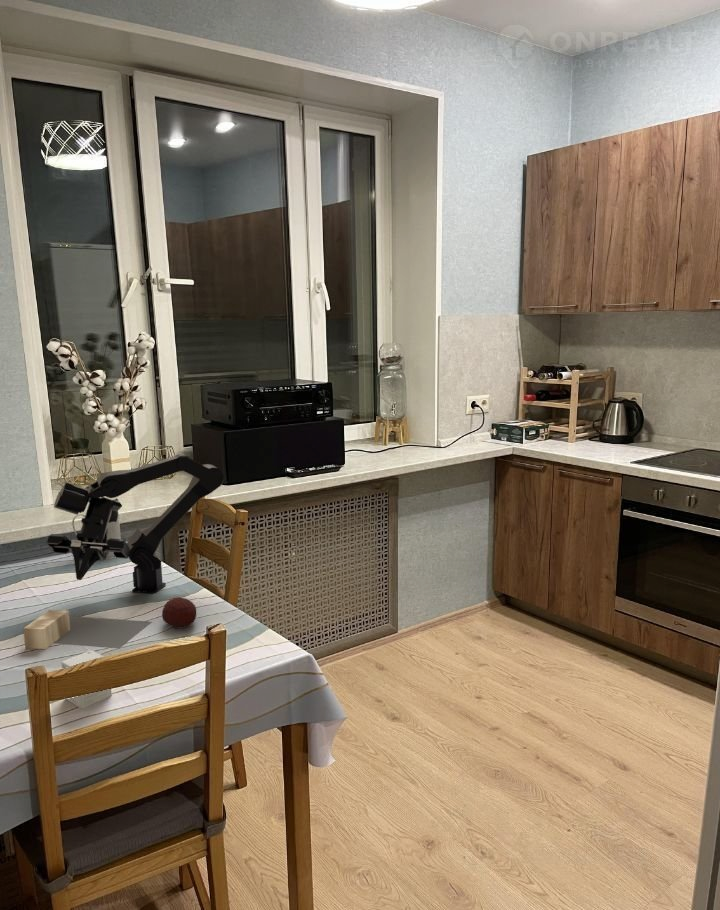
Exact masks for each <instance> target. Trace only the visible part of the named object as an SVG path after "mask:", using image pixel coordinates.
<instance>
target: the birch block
mask: <svg viewBox="0 0 720 910" xmlns="http://www.w3.org/2000/svg"><path fill="white" fill-rule="evenodd" d="M69 616H70V610H66V609H65V610H64V609H63V610H62V609H61V610H60V609H59V610H57V609H56V610H55V609H49V610H47V611H46V612H45V613H44V614H42V615H41V616H39V617H37V618H36V619H35V620H33V621H32V622H30V623H29V624H28V625H26V626H25V627H23V628H22V629H23V637H24V638H23V639H24V648H25V649H26V650H31V649H32V650H46V649H48V648H49V647H51V646H52V645H53V644H55V643H54V642H55V641H57V640H58V639H59V638H61V637H62V636H63V635H64V634H66V633H67V632H68V631H70V630H71V629H70V619H69Z"/></svg>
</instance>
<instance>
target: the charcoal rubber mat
mask: <svg viewBox="0 0 720 910" xmlns="http://www.w3.org/2000/svg"><path fill="white" fill-rule="evenodd" d="M69 619H70V629H71V630H70V631H68V632H67V633H66V634H64V635H63V636H62V637H61V638H59V639H58V640H57V641H55V642H54V643H53V644H60V645H73V646H87V647H95V648H96V647H98V648H111V649H112V648H113V649H121V648H122V647H123V646H125V645H126V644H127V643H128V642H129V641H130V640H132V639H133V638H134V637H135V636H137V635H138V634H139V633H140V632H142V631H143V630H145V628H146V627H147V626H149V625H150V624H151V623H152V621H147V620H131V619H118V618H105V617H104V618H101V617H90V616H89V617H87V616H71V615H69Z"/></svg>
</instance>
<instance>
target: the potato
mask: <svg viewBox="0 0 720 910" xmlns="http://www.w3.org/2000/svg"><path fill="white" fill-rule="evenodd" d="M161 614H162V620H163V621H164V623H166V624H167V625H168V626H171V627H174V628H178V629H180V628H182V629H183V628H188V627H189V626H191V625H192V624H194V622H195V621H196V618H197V606H196V605H195V604H194V603H193V602H192V601H191V600H189V599H188V598H185V597H180V596H179V597H178V596H177V597H173V598H171V599H168V601H166V603H165V604H164V605H163V608H162V613H161Z"/></svg>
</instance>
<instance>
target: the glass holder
mask: <svg viewBox="0 0 720 910" xmlns="http://www.w3.org/2000/svg"><path fill="white" fill-rule="evenodd" d="M85 515H86V514H85ZM85 515H84V514H82V513H78V514H77V515H76V514H75V516H73V518H72V523H71V525H72V530H73V532H74V534H75V536H77V531H76V529H75V519H76V518H78V517H79V516H83V518H85ZM107 528H108V534H107V538H108V540H109V539H110V538H112V539H121V538H122V537H121V527H120V514H119V510H118V511H113V510H112V512H111V516H110V519H109V523H108V526H107ZM113 553H114V552H109V554H108V556H107V558H112V556H113V557H115V555H114V554H113Z"/></svg>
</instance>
